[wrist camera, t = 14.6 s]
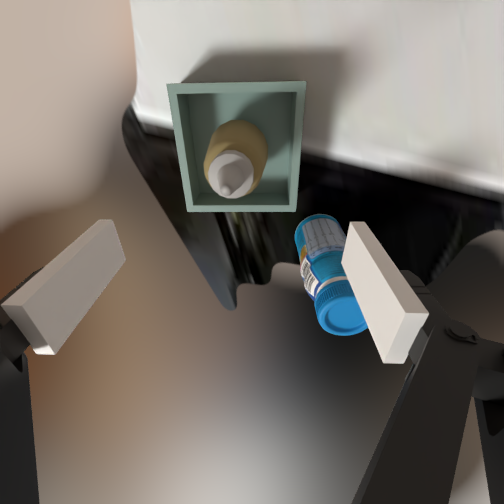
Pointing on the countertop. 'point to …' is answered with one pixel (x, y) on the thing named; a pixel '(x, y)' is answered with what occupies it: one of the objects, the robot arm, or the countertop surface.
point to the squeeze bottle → (236, 158)
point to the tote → (249, 109)
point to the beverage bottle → (328, 275)
